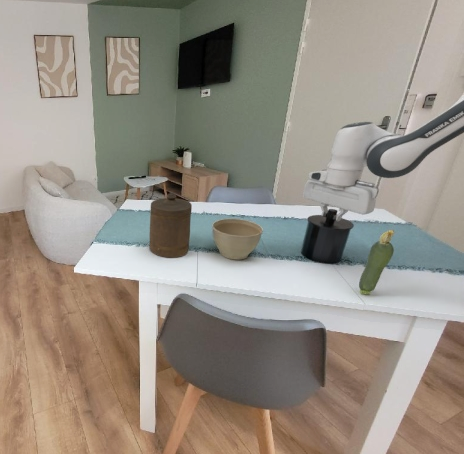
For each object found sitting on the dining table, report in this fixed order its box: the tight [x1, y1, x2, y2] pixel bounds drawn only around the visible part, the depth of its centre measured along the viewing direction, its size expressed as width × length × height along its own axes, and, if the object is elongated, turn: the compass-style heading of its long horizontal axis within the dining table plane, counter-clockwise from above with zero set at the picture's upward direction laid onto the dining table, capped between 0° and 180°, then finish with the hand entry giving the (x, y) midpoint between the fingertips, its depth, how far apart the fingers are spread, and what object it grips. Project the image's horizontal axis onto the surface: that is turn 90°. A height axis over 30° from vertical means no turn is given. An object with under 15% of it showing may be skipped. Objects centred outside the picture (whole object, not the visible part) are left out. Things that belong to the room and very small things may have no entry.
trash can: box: [300, 221, 352, 265], centre depth 99 cm, size 11×11×12 cm
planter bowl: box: [211, 218, 264, 261], centre depth 104 cm, size 16×16×11 cm
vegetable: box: [358, 229, 395, 295], centre depth 78 cm, size 4×4×20 cm
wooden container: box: [149, 192, 193, 258], centre depth 108 cm, size 15×15×22 cm
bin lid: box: [306, 208, 355, 230], centre depth 96 cm, size 12×12×5 cm
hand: (330, 218), depth 96 cm, fingers closed on bin lid, 2 cm apart
